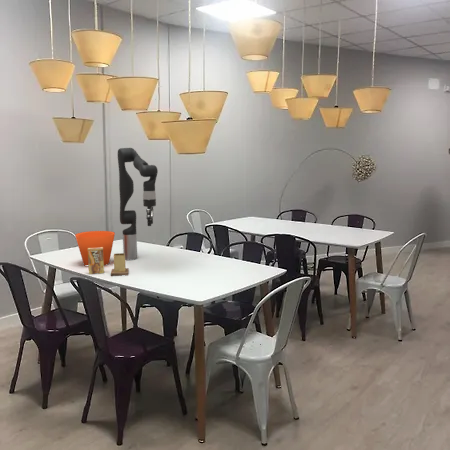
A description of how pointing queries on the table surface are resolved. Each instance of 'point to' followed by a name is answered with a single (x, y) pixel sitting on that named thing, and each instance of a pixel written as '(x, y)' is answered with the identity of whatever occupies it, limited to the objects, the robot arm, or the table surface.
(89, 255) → the candy box
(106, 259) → the flowerpot
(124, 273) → the post base
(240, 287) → the table surface
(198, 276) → the table surface
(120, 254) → the sleeve
